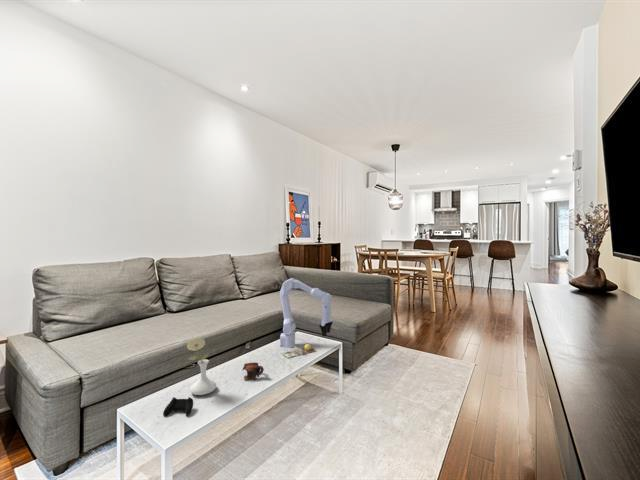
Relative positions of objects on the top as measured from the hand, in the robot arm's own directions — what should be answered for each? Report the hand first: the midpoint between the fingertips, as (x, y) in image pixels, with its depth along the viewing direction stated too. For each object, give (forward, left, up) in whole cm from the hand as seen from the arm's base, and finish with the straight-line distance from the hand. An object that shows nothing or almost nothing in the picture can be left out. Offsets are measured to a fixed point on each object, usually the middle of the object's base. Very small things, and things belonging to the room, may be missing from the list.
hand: (326, 334), depth 191 cm
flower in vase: (-53, -57, -10) cm, 79 cm away
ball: (-11, -5, -9) cm, 15 cm away
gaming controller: (-54, -74, -10) cm, 92 cm away
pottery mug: (-34, -40, -10) cm, 54 cm away
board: (-16, -10, -10) cm, 21 cm away
